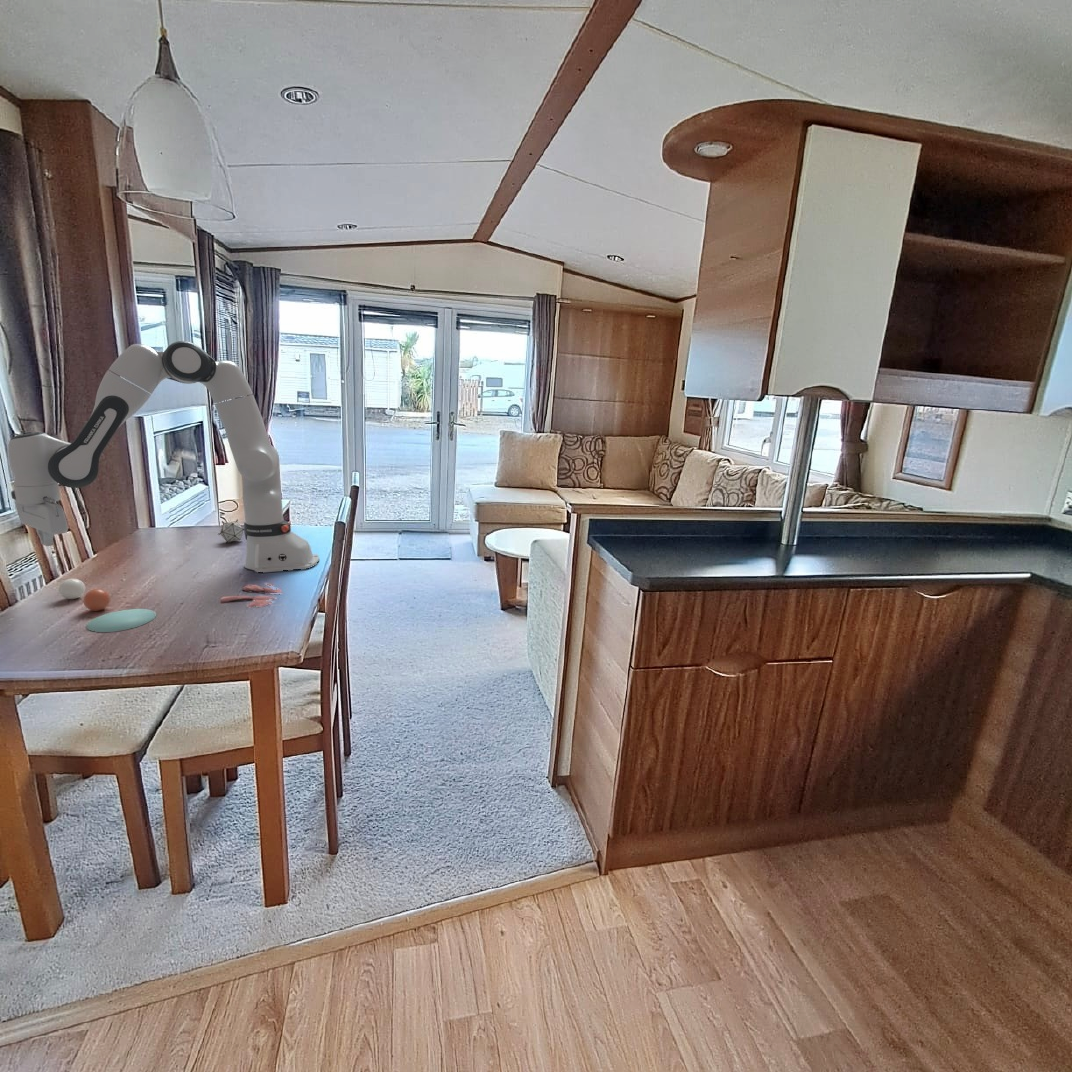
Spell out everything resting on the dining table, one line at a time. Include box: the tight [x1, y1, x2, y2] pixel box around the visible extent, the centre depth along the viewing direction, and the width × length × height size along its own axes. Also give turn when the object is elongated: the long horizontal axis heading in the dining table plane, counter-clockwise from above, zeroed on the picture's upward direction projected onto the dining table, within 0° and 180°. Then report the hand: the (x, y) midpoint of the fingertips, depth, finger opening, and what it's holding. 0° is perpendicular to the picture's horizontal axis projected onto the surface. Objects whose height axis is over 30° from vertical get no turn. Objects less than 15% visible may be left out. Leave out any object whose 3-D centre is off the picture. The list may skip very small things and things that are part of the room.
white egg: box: [58, 578, 86, 600], centre depth 153 cm, size 6×6×6 cm
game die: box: [217, 519, 244, 545], centre depth 209 cm, size 9×8×10 cm
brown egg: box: [82, 588, 111, 612], centre depth 147 cm, size 6×6×6 cm
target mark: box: [86, 608, 157, 633], centre depth 141 cm, size 14×14×1 cm
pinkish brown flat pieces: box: [220, 582, 283, 608], centre depth 160 cm, size 20×22×2 cm
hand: (47, 545), depth 155 cm, fingers closed
